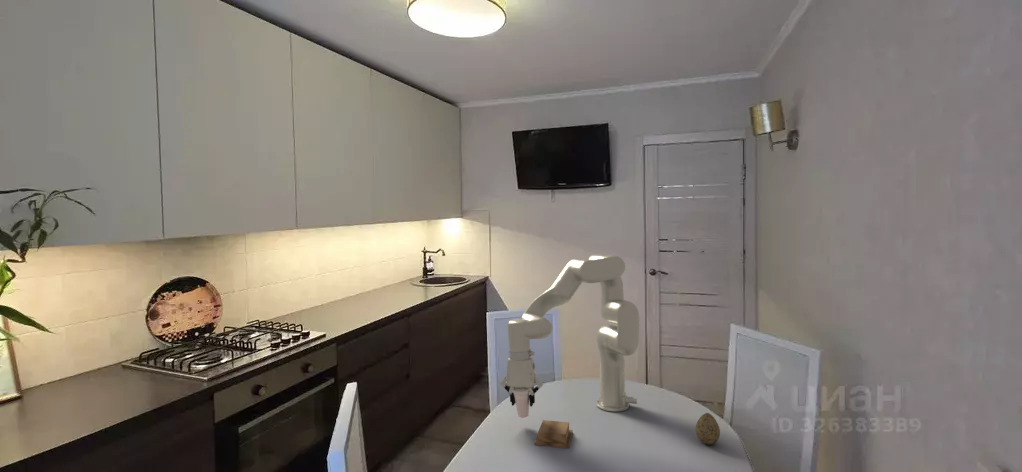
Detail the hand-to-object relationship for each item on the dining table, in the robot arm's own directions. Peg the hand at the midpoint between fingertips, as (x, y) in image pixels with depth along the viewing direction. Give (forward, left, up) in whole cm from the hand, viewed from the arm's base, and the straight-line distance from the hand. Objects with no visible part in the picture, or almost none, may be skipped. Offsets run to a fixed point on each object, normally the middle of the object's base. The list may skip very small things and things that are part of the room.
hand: (522, 404), depth 164 cm
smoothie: (0, 0, -4) cm, 4 cm away
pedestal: (-12, +7, -8) cm, 16 cm away
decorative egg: (-61, 0, -8) cm, 62 cm away
